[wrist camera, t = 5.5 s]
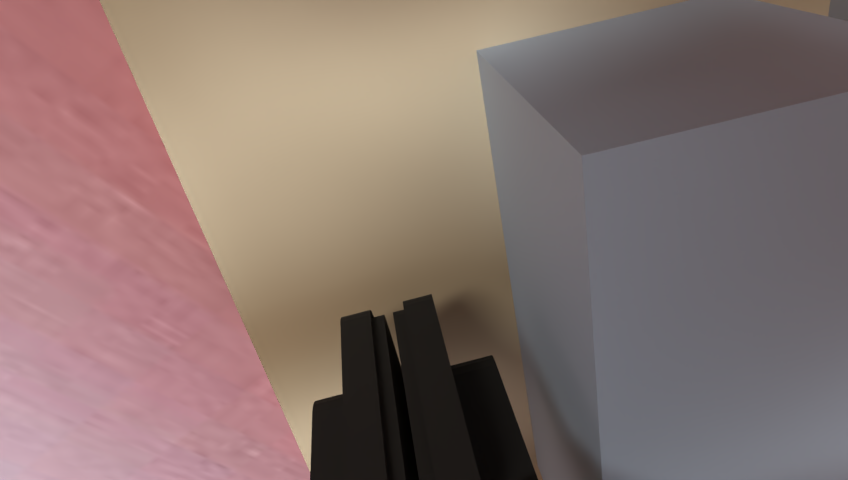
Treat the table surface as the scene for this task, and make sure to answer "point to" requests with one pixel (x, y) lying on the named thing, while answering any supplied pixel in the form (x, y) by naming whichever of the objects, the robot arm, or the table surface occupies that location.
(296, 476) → the table surface
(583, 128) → the t block
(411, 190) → the board
